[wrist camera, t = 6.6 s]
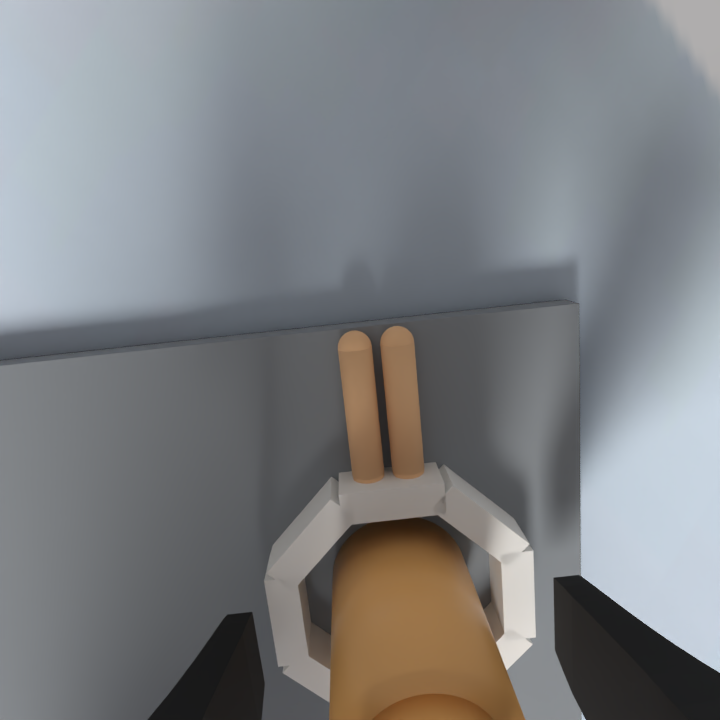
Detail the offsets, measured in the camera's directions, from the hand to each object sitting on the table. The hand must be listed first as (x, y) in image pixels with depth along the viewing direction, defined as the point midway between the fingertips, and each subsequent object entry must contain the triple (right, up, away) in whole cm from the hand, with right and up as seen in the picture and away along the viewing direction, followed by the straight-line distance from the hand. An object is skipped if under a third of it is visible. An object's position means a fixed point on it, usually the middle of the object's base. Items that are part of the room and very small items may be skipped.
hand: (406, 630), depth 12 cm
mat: (-5, 0, +3) cm, 6 cm away
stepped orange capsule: (0, +1, +2) cm, 2 cm away
